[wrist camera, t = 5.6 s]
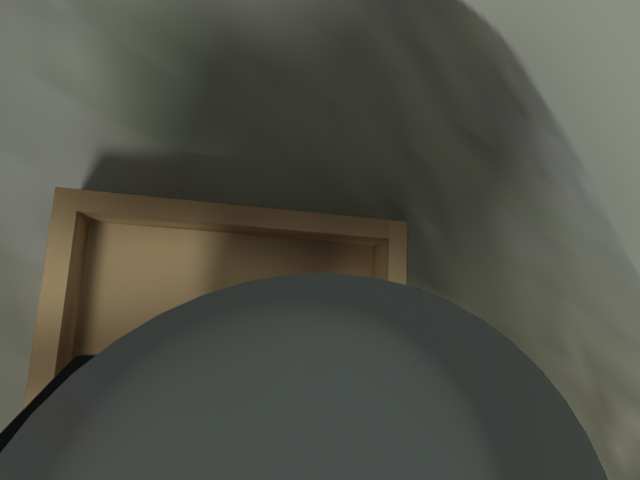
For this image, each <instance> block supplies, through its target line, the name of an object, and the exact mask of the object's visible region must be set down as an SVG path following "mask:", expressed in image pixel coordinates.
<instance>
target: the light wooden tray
mask: <svg viewBox="0 0 640 480" xmlns="http://www.w3.org/2000/svg"><path fill="white" fill-rule="evenodd" d="M316 273H338V274H348V275H357V276H367V277H375V278H379V279H383V280H387V281H391V282H395V283H399V284H403V285H406V276H407V221H397V220H386V219H376V218H366V217H356V216H346V215H335V214H325V213H315V212H305V211H295V210H284V209H274V208H264V207H254V206H243V205H233V204H223V203H213V202H203V201H192V200H182V199H172V198H162V197H152V196H141V195H131V194H121V193H111V192H101V191H90V190H80V189H70V188H60V187H55V194H54V201H53V208H52V215H51V222H50V229H49V235H48V242H47V249H46V256H45V263H44V270H43V277H42V284H41V291H40V298H39V305H38V312H37V319H36V326H35V333H34V340H33V347H32V354H31V360H30V367H29V374H28V381H27V388H26V395H25V402H24V408H25V407H26V406H27V405H28V404H29V403H30V402H31V401H32V400H33V399H34V398H35V397H36V396H37V395H38V394H39V393H40V392H41V391H42V390H43V389H44V388H45V387H46V385H47V384H48V383H49V382H50V381H51V380H52V379H53V378H54V377H55V376H56V375H57V374H58V373H59V372H60V371H61V370H62V369H63V368H64V367H65V366H66V365H67V364H68V363H69V362H70V360H71V359H72V358H73V357H75V356H76V355H78V354H99V353H100V352H101V351H102V350H104V349H105V348H106V347H108V346H109V345H110V344H111V343H113V342H114V341H115V340H117V339H119V338H120V337H122V336H124V335H125V334H127V333H129V332H130V331H132V330H134V329H135V328H137V327H139V326H140V325H142V324H144V323H145V322H147V321H149V320H150V319H152V318H154V317H155V316H157V315H159V314H161V313H163V312H165V311H168V310H170V309H172V308H174V307H177V306H179V305H181V304H183V303H186V302H188V301H190V300H192V299H195V298H197V297H199V296H201V295H204V294H207V293H210V292H214V291H217V290H220V289H224V288H227V287H230V286H234V285H237V284H240V283H244V282H247V281H253V280H259V279H265V278H271V277H277V276H283V275H289V274H316Z"/></svg>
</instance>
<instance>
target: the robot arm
mask: <svg viewBox="0 0 640 480" xmlns="http://www.w3.org/2000/svg"><path fill="white" fill-rule="evenodd" d="M96 355H97V354H78V355H76V356H75V357H73V358H72V359H71V360H70V362H69V363H68V364H67V365H66V366H65V367H64V368H63V369H62V370H61V371H60V372H59V373H58V374H57V375H56V376H55V377H54V378H53V379H52V380H51V381H50V382H49V383H48V384H47V385H46V387H45V388H44V389H43V390H42V391H41V392H40V393H39V394H38V395H37V396H36V397H35V398H34V399H33V400H32V401H31V402H30V403H29V404H28V405H27V406H26V407H25V408H24V409H23V410H22V411H21V413H20V414H19V415H18V416H17V417H16V418H15V419H14V420H13V421H12V422H11V423H10V424H9V425H8V426H7V427H6V428H5V429H4V430H3V431H2V432H1V433H0V453H1V452H2V450H3V449H4V448H5V447H6V445H7V444H8V443H9V442H10V440H11V439H12V438H13V437H14V435H15V434H16V433H17V432H18V430H19V429H20V428H21V427H22V425H23V424H24V423H25V422H26V420H27V419H28V418H29V417H30V415H31V414H32V413H33V412H34V411H35V410H36V409H37V408H38V407H39V406H40V405H41V404H42V403H43V402H44V401H45V400H46V399H47V398H48V397H49V396H50V395H51V394H52V393H53V392H54V391H55V390H56V389H57V388H58V387H60V386H61V385H62V384H63V383H64V382H65V381H66V380H67V379H68V378H69V377H70V376H71V375H72V374H73V373H74V372H75V371H77V370H78V369H79V368H81V367H82V366H83V365H84V364H86V363H87V362H88V361H90V360H91V359H92V358H93V357H95V356H96Z"/></svg>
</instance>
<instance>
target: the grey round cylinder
mask: <svg viewBox="0 0 640 480" xmlns="http://www.w3.org/2000/svg"><path fill="white" fill-rule="evenodd" d="M0 480H607V477H606V474H605V471H604V469H603V467H602V465H601V463H600V461H599V459H598V457H597V455H596V453H595V450H594V448H593V446H592V444H591V442H590V440H589V438H588V436H587V434H586V432H585V431H584V429H583V428H582V426H581V424H580V423H579V421H578V420H577V418H576V416H575V415H574V413H573V412H572V410H571V408H570V407H569V405H568V404H567V402H566V400H565V399H564V398H563V397H562V395H561V394H560V393H559V392H558V391H557V389H556V388H555V387H554V386H553V384H552V383H551V382H550V381H549V379H548V378H547V377H546V376H545V374H544V373H543V372H542V371H541V370H540V369H539V368H538V367H537V366H536V365H535V364H534V363H533V362H532V361H531V360H530V359H529V358H528V357H527V356H526V355H525V354H524V353H523V352H522V351H521V350H520V349H519V348H518V347H517V346H516V345H515V344H514V343H512V342H511V341H510V340H508V339H507V338H506V337H504V336H503V335H502V334H500V333H499V332H498V331H496V330H495V329H494V328H492V327H491V326H490V325H488V324H487V323H486V322H484V321H483V320H482V319H480V318H478V317H476V316H474V315H473V314H471V313H469V312H467V311H466V310H464V309H462V308H460V307H458V306H457V305H455V304H453V303H451V302H449V301H447V300H445V299H442V298H440V297H437V296H435V295H432V294H430V293H427V292H425V291H422V290H419V289H417V288H414V287H412V286H407V285H403V284H399V283H395V282H391V281H387V280H383V279H379V278H375V277H367V276H357V275H348V274H338V273H316V274H289V275H283V276H277V277H271V278H265V279H259V280H253V281H247V282H244V283H240V284H237V285H234V286H230V287H227V288H224V289H220V290H217V291H214V292H210V293H207V294H204V295H201V296H199V297H197V298H195V299H192V300H190V301H188V302H186V303H183V304H181V305H179V306H177V307H174V308H172V309H170V310H168V311H165V312H163V313H161V314H159V315H157V316H155V317H154V318H152V319H150V320H149V321H147V322H145V323H144V324H142V325H140V326H139V327H137V328H135V329H134V330H132V331H130V332H129V333H127V334H125V335H124V336H122V337H120V338H119V339H117V340H115V341H114V342H113V343H111V344H110V345H109V346H108V347H106V348H105V349H104V350H102V351H101V352H100V353H99V354H97V355H96V356H95V357H93V358H92V359H91V360H90V361H88V362H87V363H86V364H84V365H83V366H82V367H81V368H79V369H78V370H77V371H75V372H74V373H73V374H72V375H71V376H70V377H69V378H68V379H67V380H66V381H65V382H64V383H63V384H62V385H61V386H60V387H58V388H57V389H56V390H55V391H54V392H53V393H52V394H51V395H50V396H49V397H48V398H47V399H46V400H45V401H44V402H43V403H42V404H41V405H40V406H39V407H38V408H37V409H36V410H35V411H34V412H33V413H32V414H31V415H30V417H29V418H28V419H27V420H26V422H25V423H24V424H23V425H22V427H21V428H20V429H19V430H18V432H17V433H16V434H15V435H14V437H13V438H12V439H11V440H10V442H9V443H8V444H7V445H6V447H5V448H4V449H3V450H2V452H1V453H0Z"/></svg>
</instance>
